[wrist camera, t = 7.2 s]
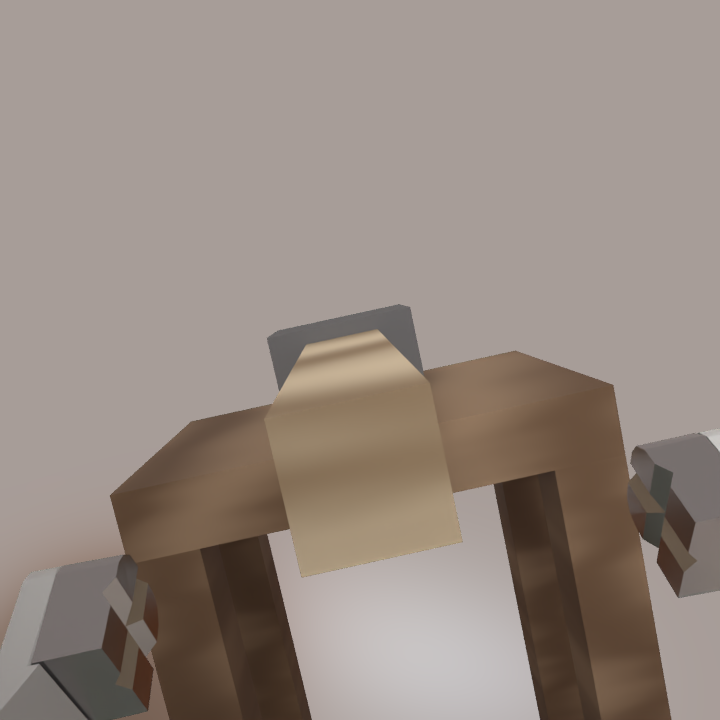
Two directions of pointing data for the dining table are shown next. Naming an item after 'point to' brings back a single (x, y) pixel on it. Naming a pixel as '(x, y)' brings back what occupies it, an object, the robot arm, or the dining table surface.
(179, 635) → the plant stand
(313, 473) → the mallet
